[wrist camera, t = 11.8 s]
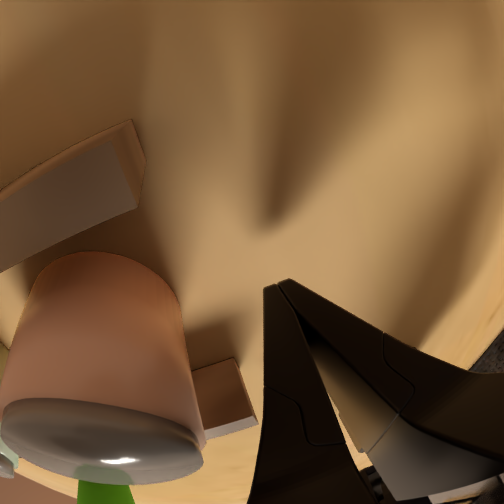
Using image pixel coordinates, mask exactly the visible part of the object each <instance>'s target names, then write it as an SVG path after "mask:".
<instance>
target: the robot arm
mask: <svg viewBox="0 0 504 504" xmlns="http://www.w3.org/2000/svg"><path fill="white" fill-rule="evenodd" d="M263 340H264V388H263V396H264V400H263V420H262V428H261V436H260V443H259V449H258V454H257V460H256V466H255V471H254V477H253V482H252V486H251V491H250V494H249V498H248V501H247V504H504V372H497V373H477V372H472V371H468V370H465V369H462V368H459V367H457V366H455V365H452V364H450V363H447V362H445V361H442V360H440V359H438V358H435V357H433V356H430V355H428V354H426V353H424V352H421V351H419V350H417V349H416V348H415V347H414V348H413V347H410V346H409V345H407V344H405V343H403V342H401V341H399V340H397V339H395V338H394V337H392V336H390V335H388V334H387V333H383V331H381V330H379V329H378V328H376V327H374V326H372V325H371V324H369V323H367V322H365V321H364V320H362V319H360V318H359V317H357V316H355V315H353V314H352V313H350V312H348V311H346V310H345V309H343V308H341V307H339V306H338V305H336V304H334V303H332V302H331V301H329V300H327V299H325V298H324V297H322V296H320V295H318V294H317V293H315V292H313V291H312V290H310V289H308V288H306V287H305V286H303V285H301V284H299V283H298V282H296V281H294V280H292V279H290V278H288V279H286V280H283V281H280V282H278V283H277V284H272V285H270V286H267V287H264V289H263ZM327 392H328V394H329V396H330V397H331V399H332V400H333V402H334V404H335V405H336V407H337V408H338V410H339V417H340V419H341V421H342V423H343V424H344V426H345V428H346V430H347V432H348V434H349V436H350V438H351V439H352V441H353V443H354V445H355V447H356V449H357V451H358V452H360V453H363V452H365V453H366V454H367V456H368V458H369V459H370V461H371V462H372V464H373V465H372V466H370V467H367V468H364V469H362V470H360V471H358V469H357V467H356V465H355V463H354V461H353V459H352V456H351V454H350V452H349V449H348V447H347V444H345V443H346V441H345V438H344V436H343V433H342V430H341V428H340V425H339V422H338V420H337V417H336V415H335V412H334V409H333V407H332V404H331V401H330V399H329V396H328V394H327Z"/></svg>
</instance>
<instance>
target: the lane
mask: <svg viewBox="0 0 504 504" xmlns="http://www.w3.org/2000/svg"><path fill="white" fill-rule="evenodd" d="M145 165H146V159H145V156H144V153H143V150H142V148H141V145H140V142H139V139H138V136H137V133H136V131H135V128H134V125H133V122H132V119H130V120H127V121H125V122H123V123H120V124H118V125H116V126H113V127H111V128H109V129H107V130H104V131H102V132H100V133H98V134H96V135H94V136H92V137H90V138H88V139H86V140H84V141H82V142H80V143H78V144H76V145H74V146H72V147H70V148H68V149H66V150H64V151H62V152H61V153H59V154H57V155H55V156H53V157H52V158H50V159H48V160H46V161H45V162H43V163H41V164H40V165H38V166H36V167H35V168H33V169H32V170H30V171H28V172H27V173H25V174H24V175H22V176H21V177H19V178H18V179H16V180H15V181H13V182H12V183H10V184H9V185H7V186H6V187H4V188H3V189H2V190H0V273H1V272H3V271H5V270H7V269H8V268H10V267H12V266H14V265H16V264H18V263H19V262H21V261H23V260H25V259H27V258H29V257H31V256H33V255H35V254H37V253H38V252H40V251H42V250H44V249H46V248H48V247H50V246H52V245H54V244H56V243H59V242H61V241H63V240H65V239H67V238H69V237H71V236H73V235H75V234H78V233H80V232H82V231H84V230H86V229H88V228H91V227H93V226H95V225H97V224H100V223H102V222H104V221H107V220H109V219H111V218H114V217H116V216H118V215H121V214H123V213H125V212H128V211H130V210H133V209H135V208H138V205H139V199H140V193H141V187H142V181H143V176H144V170H145ZM191 374H192V379H193V384H194V389H195V394H196V398H197V403H198V407H199V412H200V416H201V421H202V425H203V429H204V433H205V437H206V440H208V439H212V438H216V437H219V436H223V435H227V434H230V433H233V432H237V431H240V430H243V429H246V428H249V427H252V426H255V425H258V421H257V418H256V415H255V413H254V410H253V407H252V404H251V401H250V398H249V396H248V393H247V390H246V387H245V384H244V381H243V378H242V375H241V372H240V370H239V368H238V366H237V364H236V362H235V360H234V358H231V359H228V360H225V361H222V362H219V363H216V364H213V365H210V366H207V367H204V368H201V369H198V370H195V371H191ZM18 458H22V457H20V456H19V457H18Z"/></svg>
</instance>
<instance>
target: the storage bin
mask: <svg viewBox="0 0 504 504" xmlns="http://www.w3.org/2000/svg"><path fill="white" fill-rule="evenodd" d="M468 371H472V372H477V373H497V372H504V331H503V332H502V333H501V334H500V335H499V336H498V337H497V338H496V340H495V341H494V342H493V343H492V344H491V345H490V346H489V348H488V349H487V350H486V351H485V352H484V354H483V355H482V356H481V357H480V358H479V359H478V361H477V362H476V363H475V364H474V365H473V366H472V367H471V368H470V369H469V370H468Z"/></svg>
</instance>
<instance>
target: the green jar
mask: <svg viewBox="0 0 504 504" xmlns="http://www.w3.org/2000/svg"><path fill="white" fill-rule="evenodd" d="M8 354H9V350H8V349H7V348H6V347H5V346H4V345H3V344H2V343H0V385H1V381H2V377H3V372H4V369H5V365H6V361H7V357H8ZM0 430H1V422H0ZM18 457H19V455H17V454H16V453H14V452H13V451H12V450H11V449H10V448H8V447H7V445H6V444H5V443H4V442H3V440H2V439H1V436H0V476H1V477H5V478H14V469H17V468H18Z"/></svg>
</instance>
